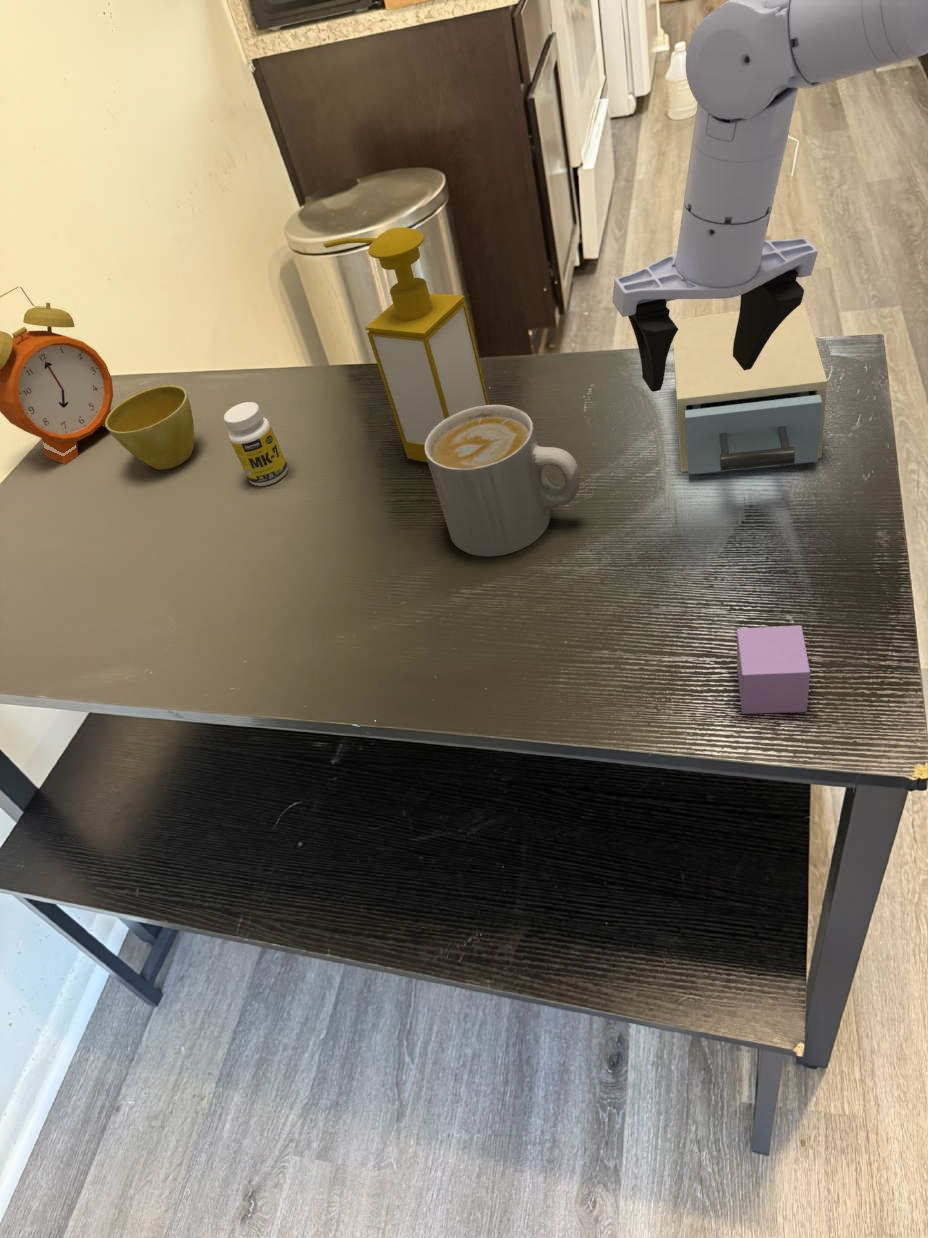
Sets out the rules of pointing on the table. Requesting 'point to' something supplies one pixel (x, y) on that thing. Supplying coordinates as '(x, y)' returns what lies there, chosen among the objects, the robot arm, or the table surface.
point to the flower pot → (155, 426)
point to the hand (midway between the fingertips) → (697, 372)
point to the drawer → (753, 432)
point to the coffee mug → (495, 479)
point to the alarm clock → (53, 383)
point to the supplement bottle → (255, 444)
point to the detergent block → (772, 669)
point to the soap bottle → (421, 345)
